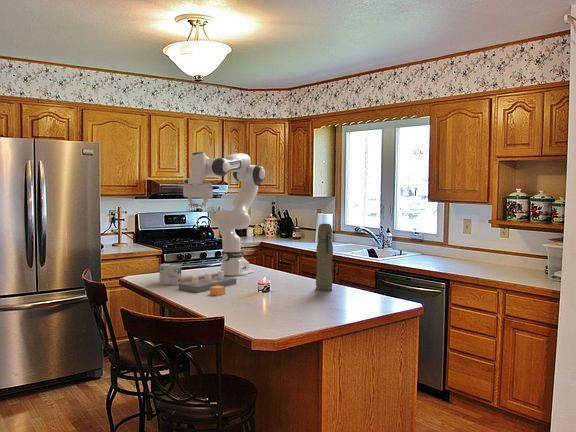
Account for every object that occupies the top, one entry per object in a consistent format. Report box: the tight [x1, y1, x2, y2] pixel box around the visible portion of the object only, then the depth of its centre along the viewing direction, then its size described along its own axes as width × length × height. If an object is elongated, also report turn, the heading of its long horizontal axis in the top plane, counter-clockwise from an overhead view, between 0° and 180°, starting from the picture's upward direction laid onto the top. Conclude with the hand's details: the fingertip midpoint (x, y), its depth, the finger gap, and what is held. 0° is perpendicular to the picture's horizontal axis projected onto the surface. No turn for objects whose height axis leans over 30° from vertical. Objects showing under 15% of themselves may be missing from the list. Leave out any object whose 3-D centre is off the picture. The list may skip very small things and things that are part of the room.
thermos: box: [315, 223, 334, 292], centre depth 279 cm, size 9×12×35 cm
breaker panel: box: [178, 275, 237, 293], centre depth 283 cm, size 30×14×3 cm, turn 145°
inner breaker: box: [217, 270, 225, 279], centre depth 291 cm, size 2×2×4 cm
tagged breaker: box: [204, 272, 213, 282], centre depth 283 cm, size 2×2×4 cm
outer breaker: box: [191, 275, 199, 284], centre depth 275 cm, size 2×2×4 cm
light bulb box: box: [159, 263, 182, 286], centre depth 290 cm, size 11×7×11 cm, turn 84°
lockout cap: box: [209, 286, 226, 297], centre depth 265 cm, size 5×5×4 cm
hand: (197, 205), depth 292 cm, fingers open, 8 cm apart
